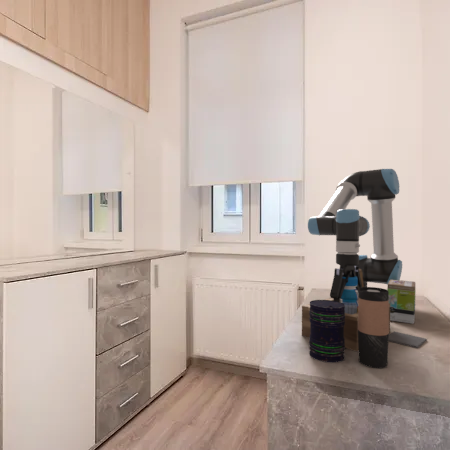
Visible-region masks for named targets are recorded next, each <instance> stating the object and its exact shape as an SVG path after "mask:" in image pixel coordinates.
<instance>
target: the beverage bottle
mask: <svg viewBox="0 0 450 450" xmlns="http://www.w3.org/2000/svg"><path fill="white" fill-rule="evenodd" d="M343 278H344V279H345V278H346V277H343ZM357 285H358V278H357V277H356V276H354V277H349V278H348V282H347V283H346V285H345V288H344V291H343V294H342V296H341V299H342V303H343V304H344V305H345V309H344V310H345V313H347V314H352V315H353V314H355V313H358V296H359V292H358V291H357V289H356V287H357Z"/></svg>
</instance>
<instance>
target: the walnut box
mask: <svg viewBox="0 0 450 450" xmlns="http://www.w3.org/2000/svg"><path fill="white" fill-rule="evenodd" d="M323 300H331V301H334V298H331V297H328V298H325V299H323ZM309 311H310V303H307V304H304V305H302V306H301V336H304V337H305V338H306V337H307V338H309V337H310V319H309V318H310V315H309ZM390 332H391V320H390V303H389V333H390ZM344 339H345V349H347V350H351V351H355V352H359V350H358V313H355V314H353V315H352V314H347V313H345V325H344Z"/></svg>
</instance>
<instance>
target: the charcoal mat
mask: <svg viewBox="0 0 450 450" xmlns="http://www.w3.org/2000/svg"><path fill="white" fill-rule="evenodd" d="M427 340H428V338H425V337H420V336H417V335H412V334H408V333H402V332H398V331H394V330H393V331H392V332H391V333H390V332H389V341H388V342H391V343H395V344H398V345H402V346H408V347H411V348H415V349H418V348H420V346H422V345H423V344H424V343H426V342H427Z"/></svg>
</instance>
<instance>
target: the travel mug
mask: <svg viewBox="0 0 450 450" xmlns="http://www.w3.org/2000/svg"><path fill="white" fill-rule="evenodd" d="M358 290H359V296H358V362H359V363H360V364H361V365H363V366H366V367H369V368H373V369H385V368H386V367H387V368H388V364H389V361H388V359H389V342H390V341H389V334H390V332H389V292H388V290H387V288H386V289H385V288H381V287H373V286H372V287H371V286H367V287H361V288H359V289H358Z"/></svg>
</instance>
